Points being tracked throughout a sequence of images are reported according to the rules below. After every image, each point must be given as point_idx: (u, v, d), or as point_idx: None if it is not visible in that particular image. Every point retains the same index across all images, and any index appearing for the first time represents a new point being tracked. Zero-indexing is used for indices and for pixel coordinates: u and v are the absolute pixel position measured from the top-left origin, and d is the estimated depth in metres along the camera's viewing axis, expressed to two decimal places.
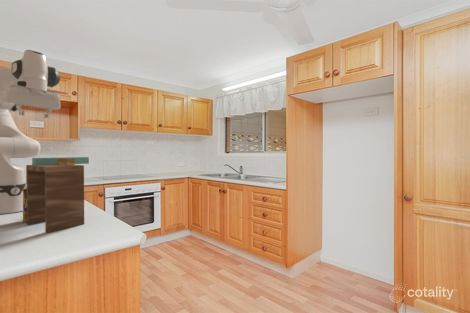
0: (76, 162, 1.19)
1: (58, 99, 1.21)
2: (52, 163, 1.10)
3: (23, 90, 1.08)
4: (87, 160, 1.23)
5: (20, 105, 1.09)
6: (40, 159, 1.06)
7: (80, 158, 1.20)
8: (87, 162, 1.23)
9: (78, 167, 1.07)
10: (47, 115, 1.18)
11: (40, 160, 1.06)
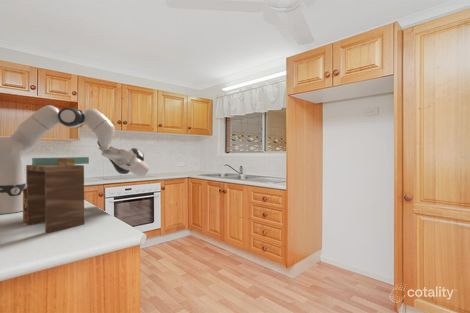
0: (76, 162, 1.19)
1: (108, 158, 1.43)
2: (52, 163, 1.10)
3: (124, 160, 1.36)
4: (87, 160, 1.23)
5: (116, 153, 1.32)
6: (40, 159, 1.06)
7: (80, 158, 1.20)
8: (87, 162, 1.23)
9: (78, 167, 1.07)
10: None
11: (40, 160, 1.06)
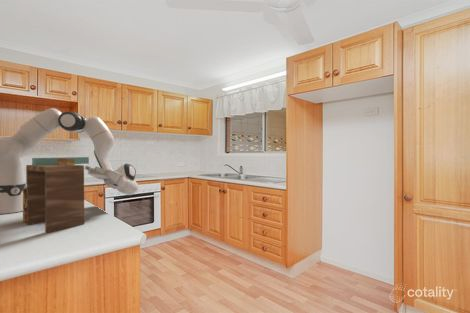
0: (76, 162, 1.19)
1: None
2: (52, 163, 1.10)
3: (111, 181, 1.31)
4: (87, 160, 1.23)
5: (102, 173, 1.26)
6: (40, 159, 1.06)
7: (80, 158, 1.20)
8: (87, 162, 1.23)
9: (78, 167, 1.07)
10: (86, 169, 1.29)
11: (40, 160, 1.06)
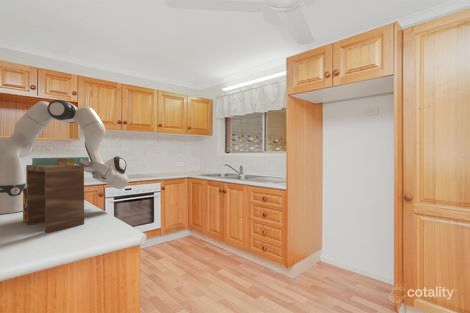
0: (76, 162, 1.19)
1: None
2: (52, 163, 1.10)
3: (99, 174, 1.25)
4: (87, 160, 1.23)
5: (86, 165, 1.21)
6: (40, 159, 1.06)
7: (80, 158, 1.20)
8: None
9: (78, 167, 1.07)
10: None
11: (40, 160, 1.06)
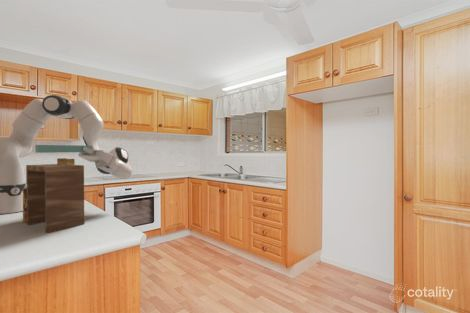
0: (80, 150, 1.17)
1: None
2: (55, 150, 1.09)
3: (103, 162, 1.23)
4: None
5: (90, 154, 1.20)
6: (43, 146, 1.05)
7: (83, 146, 1.19)
8: None
9: (78, 167, 1.07)
10: None
11: (43, 147, 1.05)
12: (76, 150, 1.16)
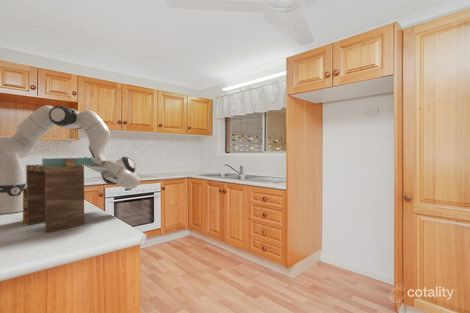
0: (87, 163, 1.14)
1: None
2: (63, 164, 1.05)
3: (110, 173, 1.20)
4: None
5: (99, 165, 1.16)
6: (51, 160, 1.01)
7: None
8: None
9: (78, 167, 1.07)
10: None
11: (50, 160, 1.01)
12: (84, 163, 1.12)
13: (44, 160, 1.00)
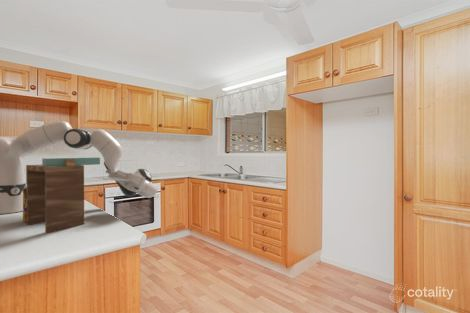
0: (87, 163, 1.14)
1: (115, 180, 1.36)
2: (63, 164, 1.05)
3: (132, 184, 1.30)
4: (98, 161, 1.18)
5: (124, 177, 1.25)
6: (51, 160, 1.01)
7: (91, 159, 1.15)
8: (98, 163, 1.18)
9: (78, 167, 1.07)
10: None
11: (50, 160, 1.01)
12: (84, 163, 1.12)
13: (44, 160, 1.00)
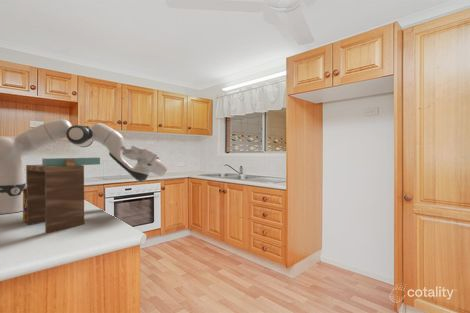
0: (87, 163, 1.14)
1: None
2: (63, 164, 1.05)
3: (145, 160, 1.36)
4: (98, 161, 1.18)
5: (138, 153, 1.32)
6: (51, 160, 1.01)
7: (91, 159, 1.15)
8: (98, 163, 1.18)
9: (78, 167, 1.07)
10: (122, 149, 1.35)
11: (50, 160, 1.01)
12: (84, 163, 1.12)
13: (44, 160, 1.00)
